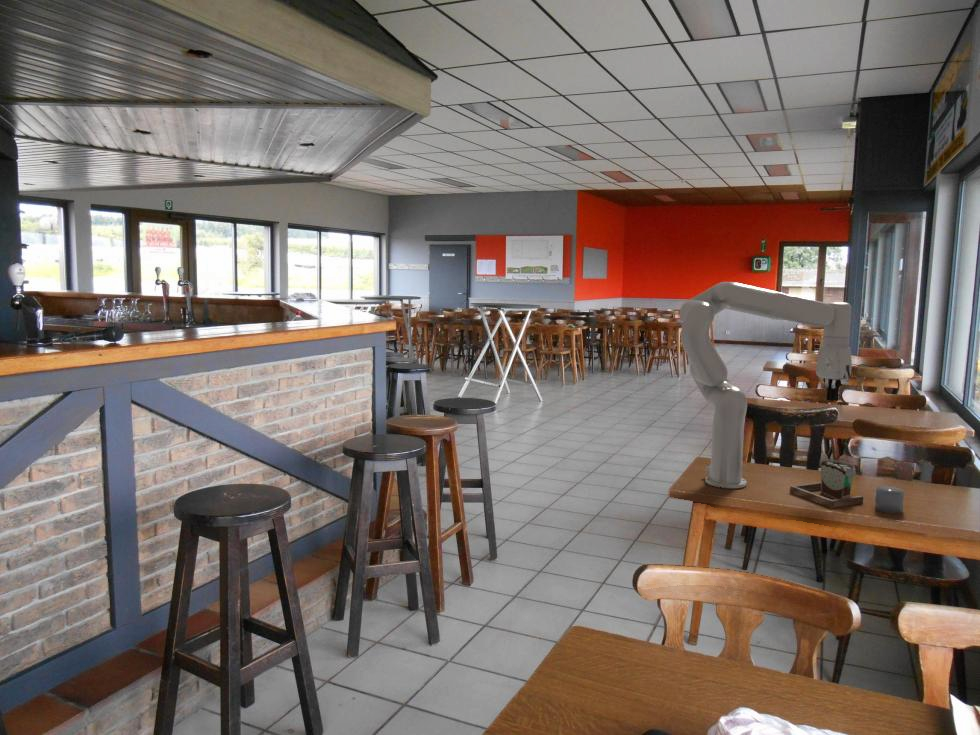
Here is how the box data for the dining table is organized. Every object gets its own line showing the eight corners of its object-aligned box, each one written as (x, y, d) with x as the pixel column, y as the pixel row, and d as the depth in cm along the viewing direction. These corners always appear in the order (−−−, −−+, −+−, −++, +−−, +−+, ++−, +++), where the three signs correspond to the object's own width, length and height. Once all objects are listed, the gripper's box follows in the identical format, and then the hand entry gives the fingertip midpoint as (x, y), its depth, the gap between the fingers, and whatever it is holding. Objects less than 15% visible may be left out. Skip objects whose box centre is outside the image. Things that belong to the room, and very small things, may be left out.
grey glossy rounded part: (869, 507, 209) (870, 487, 208) (886, 504, 211) (888, 484, 210) (890, 515, 202) (892, 494, 201) (908, 512, 205) (910, 491, 204)
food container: (863, 501, 214) (865, 468, 213) (845, 503, 213) (847, 469, 211) (835, 489, 226) (837, 458, 225) (818, 490, 225) (820, 459, 223)
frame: (789, 492, 223) (790, 486, 222) (819, 488, 227) (820, 482, 227) (831, 508, 208) (832, 501, 208) (862, 503, 212) (863, 496, 212)
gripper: (808, 340, 232) (804, 397, 234) (846, 344, 218) (842, 405, 220) (826, 339, 234) (822, 395, 237) (865, 344, 221) (861, 403, 223)
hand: (832, 400), depth 228 cm, fingers closed
